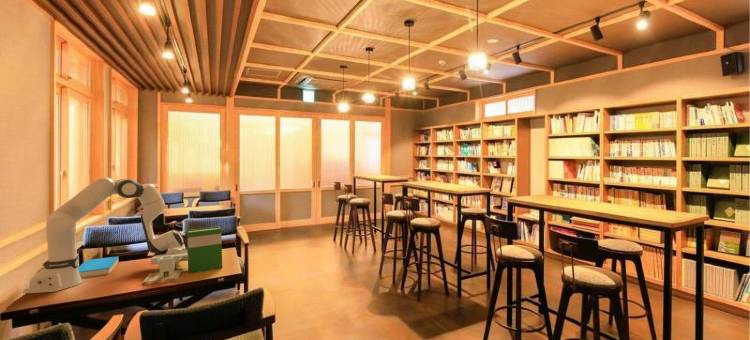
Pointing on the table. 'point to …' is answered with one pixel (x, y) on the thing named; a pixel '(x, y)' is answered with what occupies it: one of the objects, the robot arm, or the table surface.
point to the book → (97, 266)
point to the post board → (156, 278)
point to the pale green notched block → (167, 265)
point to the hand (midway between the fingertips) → (168, 262)
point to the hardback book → (204, 249)
